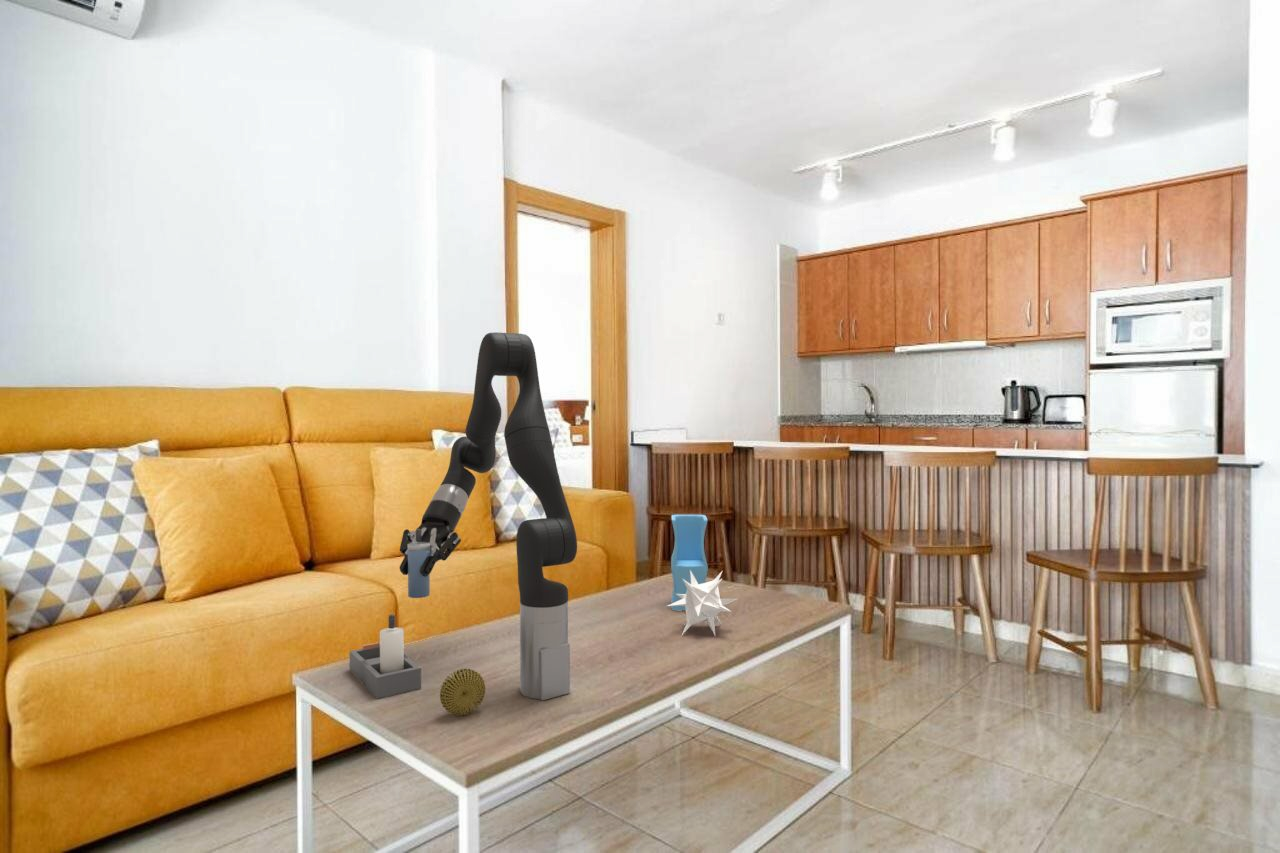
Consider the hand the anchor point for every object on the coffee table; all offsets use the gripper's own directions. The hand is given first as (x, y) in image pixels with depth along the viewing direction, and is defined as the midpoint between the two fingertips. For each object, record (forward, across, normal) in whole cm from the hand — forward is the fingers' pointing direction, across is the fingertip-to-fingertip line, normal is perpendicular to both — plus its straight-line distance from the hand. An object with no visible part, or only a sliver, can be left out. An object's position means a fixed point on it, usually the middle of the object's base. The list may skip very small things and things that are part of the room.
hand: (413, 573), depth 149 cm
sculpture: (+26, +22, +2) cm, 35 cm away
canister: (+2, 0, +5) cm, 5 cm away
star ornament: (-17, +52, +46) cm, 71 cm away
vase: (-32, +43, +60) cm, 81 cm away
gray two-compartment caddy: (+19, -2, +9) cm, 21 cm away
